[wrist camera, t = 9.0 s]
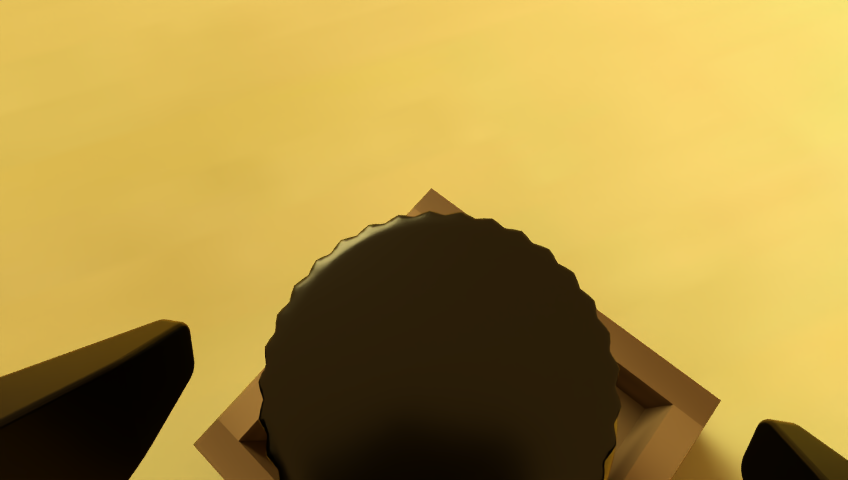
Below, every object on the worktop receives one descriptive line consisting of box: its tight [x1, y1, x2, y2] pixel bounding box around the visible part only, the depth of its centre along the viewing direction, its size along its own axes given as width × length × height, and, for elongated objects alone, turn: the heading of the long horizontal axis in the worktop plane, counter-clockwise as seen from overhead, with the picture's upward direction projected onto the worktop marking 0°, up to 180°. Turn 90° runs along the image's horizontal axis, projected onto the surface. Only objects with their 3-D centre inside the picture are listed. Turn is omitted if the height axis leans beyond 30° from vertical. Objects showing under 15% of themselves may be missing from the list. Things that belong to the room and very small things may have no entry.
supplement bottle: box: [258, 211, 622, 480], centre depth 12 cm, size 7×7×12 cm
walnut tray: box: [193, 188, 721, 480], centre depth 17 cm, size 11×11×3 cm
